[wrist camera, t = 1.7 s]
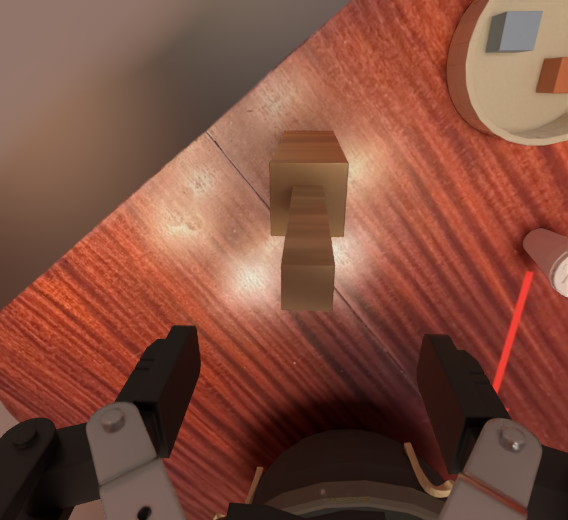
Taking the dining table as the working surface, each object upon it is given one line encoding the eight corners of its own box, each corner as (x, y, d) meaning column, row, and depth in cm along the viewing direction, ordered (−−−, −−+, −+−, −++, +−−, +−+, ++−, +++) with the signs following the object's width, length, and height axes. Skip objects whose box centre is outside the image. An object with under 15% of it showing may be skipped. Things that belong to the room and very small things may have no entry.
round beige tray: (462, -40, 39) (487, -60, 34) (641, -44, 38) (696, -65, 33) (434, 137, 46) (451, 145, 41) (583, 138, 45) (620, 145, 40)
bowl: (283, 522, 81) (275, 649, 63) (221, 401, 67) (189, 520, 49) (455, 499, 74) (502, 633, 56) (426, 360, 61) (476, 479, 43)
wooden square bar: (292, 185, 30) (281, 264, 17) (323, 186, 30) (335, 265, 17) (292, 215, 31) (281, 310, 18) (322, 215, 31) (332, 311, 18)
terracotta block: (543, 58, 42) (562, 56, 39) (576, 58, 41) (597, 56, 38) (535, 92, 43) (552, 93, 40) (566, 92, 43) (586, 93, 40)
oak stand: (284, 130, 47) (269, 162, 29) (333, 131, 47) (348, 163, 29) (284, 179, 50) (270, 235, 32) (330, 179, 49) (343, 237, 31)
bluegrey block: (492, 16, 40) (507, 11, 37) (525, 15, 40) (543, 10, 37) (485, 52, 42) (499, 50, 39) (517, 52, 42) (533, 50, 38)
